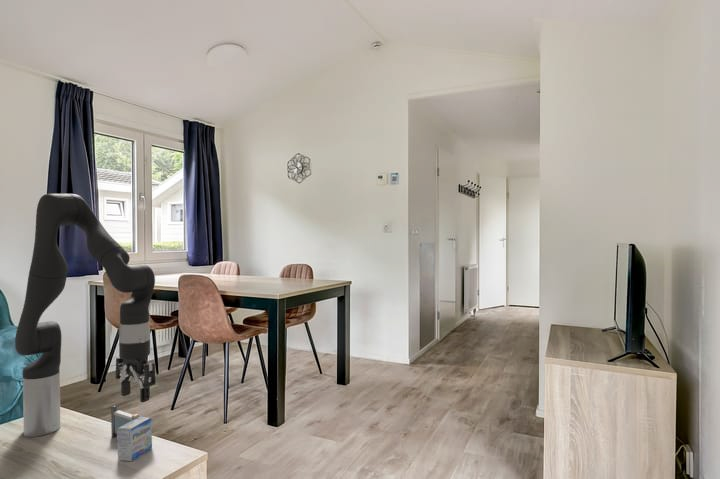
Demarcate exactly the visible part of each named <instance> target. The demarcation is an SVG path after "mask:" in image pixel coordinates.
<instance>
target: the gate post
mask: <svg viewBox="0 0 720 479" xmlns="http://www.w3.org/2000/svg"><path fill="white" fill-rule="evenodd" d="M115 411H118V405H111V407H110V415H111V416H110V420H111V422H110V423H111V424H110V425H111V427H110V428H111V438H112V439H113V438H114V439H115V438H117V434H116V433H115V415H114V412H115Z"/></svg>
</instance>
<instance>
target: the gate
mask: <svg viewBox="0 0 720 479" xmlns="http://www.w3.org/2000/svg"><path fill="white" fill-rule="evenodd" d="M114 415H115V433H116V434H117V429H118V428H119V427H121V426H123V425H125V424H127V423H129V422H131V421H132V420H134V419H136V418H138V417H140V414H139V413H135V414H132V413H129V412H126V411H123V410H120V409H119V410H118V409H117V411H115V412H114Z"/></svg>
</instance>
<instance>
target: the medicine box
mask: <svg viewBox="0 0 720 479" xmlns="http://www.w3.org/2000/svg"><path fill="white" fill-rule="evenodd" d="M152 420H153V419H152V418H151V417H147V416H139V417H138V418H136V419H134V420H132V421H131V422H129V423H127V424H125V425H123V426H121V427H119V428H118V429H117V437H116V438H117V460H119V461H124V462H133V461H134V460H137V459H138V458H139V457H141V456H142V455H143V454H145V453H146V452H148V451H150V450H151V449H153V434H152V432H153V431H152V430H153V428H152V427H153V426H152Z"/></svg>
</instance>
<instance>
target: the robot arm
mask: <svg viewBox="0 0 720 479" xmlns="http://www.w3.org/2000/svg"><path fill="white" fill-rule="evenodd" d="M38 200H39V201H38V204H37V207H36V214H35V232H34V244H33V251H32V256H31V262H30V267H29V270H28V271H29V272H28V277H27V284H26V291H25V292H26V293H25V297H24V303H23V308H22V311H21V315H20V318H19V321H18V325H17V328H16V333H15V337H14V340H15V342H14V346H15V350H16V352H17V354H18V355H20V356H33V355H37V354H41V356H40V357H39V358H37V359H36V360H35V361H33V362H31V363H30V364H27V365H26V366H25V367H24V368H23V370H22V400H23V401H22V402H23V404H22V406H23V407H22V409H23V435H24V436H25V437H31V438H33V437H40V436H46V435H48V434H52V433H54V432H56V431H58V430H59V429H60V428H61V381H60V380H61V379H60V377H61V376H60V367H61V363H62V362H61V360H62V358H61V356H62V330H61V327H60V324H59V323H58V322H57V321H54V320H53V321H51V320H48V321H41V322H40V319H41V317H42V315H43V314H44V312H45V311H46V310H47V309H48V308H49V307H50V306H51V305H52V304H53V303H54V302H55V300H57V298H58V297H59V296H60V295H61V293H62V292H63V291H64V289H65V286H66V282H67V278H68V277H67V276H68V270H69V266H68V263H67V261H66V258H65V257H64V255H63V253H62V252H61V250H60V248H59V245H58V230H59V227H63V226H77V228H79V229H81V230H82V231H83V232H84V233H85V236H86V246H87V251H88V252H89V254H90V255H91V257H92V258H93V259H94V260H95V261H96V262H97V263H98V264H99V265H100V266H101V267H102V268H104V270H105V271H104V272H106V275H107V277H108V278H109V281H110V284H111V285H112V286H113V288H114V289H115V290H118V291H119V292H121V293H126V294H128V293H129V294H130V293H131V294H130V297H129V298H128V299H127V300H125V301H123V302H122V303H121V304H120V305H119V331H118V343H119V344H118V345H119V347H118V350H119V352H118V353H119V356H118V357H116V358H115V380H119V383H120V388H121V389H120V392H121V397H126V396H129V395H130V394H131V378H134V380H135V382H137V383H138V384H139V387H140V389H139V391H140V393H139V394H140V396H139V399H140V400H139V401H140V402H141V403H145V402H148V401H150V397H151V395H150V392H151V390H150V389H151V388H150V387H152V386H155V385H156V368H155V367H156V365H155V362H150V363H148V360H147V357H148V356H149V355H150V354H151V328H150V309H149V308H150V303H151V300H152V298H153V292H154V289H155V285H156V276H155V272H154V271H153V269H152V268H151V267H150V266H148V265H146V264H138V265H129V262H130V255H129V253H128V252H127V251H126V250H125V249H124V248H123V247H122V246H121V244H119V243H118V242H117V241H116V240H115V239H114V238H113V236H111V235H110V233H108V231H107V230H106V228H105V227H104V226H103V224H102V223H101V221H100V220H99V218H98V217H97V216H96V214H95V212H94V211H93V210H92V208H91V207H90V205H89V204H88V203H87V201H86V200H85V199H84V198H83V197H82V196H81V195H79V194H75V193H46V194H43V195H42V196H41V197H40V198H39V199H38Z"/></svg>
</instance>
